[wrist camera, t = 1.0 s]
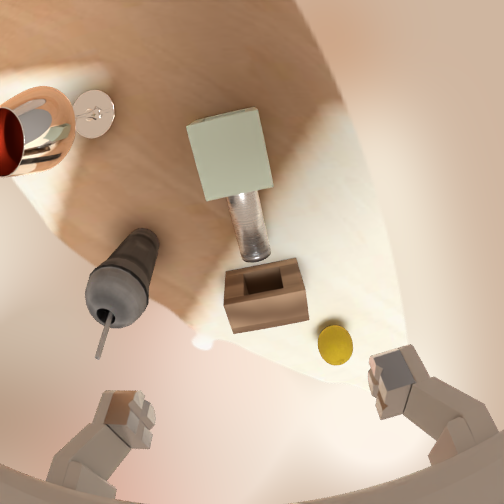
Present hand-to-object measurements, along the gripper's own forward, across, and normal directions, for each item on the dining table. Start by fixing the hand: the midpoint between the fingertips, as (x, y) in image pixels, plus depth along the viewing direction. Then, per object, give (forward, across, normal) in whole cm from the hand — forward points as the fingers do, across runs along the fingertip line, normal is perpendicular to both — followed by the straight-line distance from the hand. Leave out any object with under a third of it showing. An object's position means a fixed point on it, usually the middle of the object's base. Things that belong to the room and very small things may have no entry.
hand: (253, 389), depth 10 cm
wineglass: (+30, +17, -13) cm, 37 cm away
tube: (+29, +1, +1) cm, 29 cm away
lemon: (+32, -8, +28) cm, 43 cm away
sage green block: (+30, +1, -4) cm, 31 cm away
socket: (+31, +1, +16) cm, 35 cm away
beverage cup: (+31, +16, +6) cm, 35 cm away
